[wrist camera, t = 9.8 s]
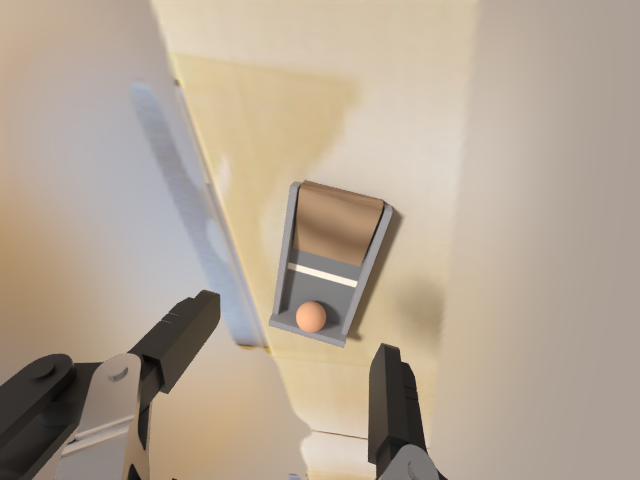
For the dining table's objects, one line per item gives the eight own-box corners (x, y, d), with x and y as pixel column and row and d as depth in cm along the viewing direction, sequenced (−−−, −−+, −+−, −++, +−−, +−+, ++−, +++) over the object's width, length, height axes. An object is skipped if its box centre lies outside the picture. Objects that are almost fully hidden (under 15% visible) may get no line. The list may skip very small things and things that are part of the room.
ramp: (306, 178, 27) (300, 185, 24) (382, 197, 26) (383, 206, 24) (295, 243, 31) (288, 255, 29) (360, 261, 31) (359, 275, 28)
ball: (294, 311, 30) (290, 334, 32) (326, 320, 30) (319, 343, 31) (302, 291, 33) (298, 313, 35) (330, 299, 33) (324, 320, 35)
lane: (294, 181, 27) (286, 188, 24) (391, 205, 26) (393, 216, 23) (276, 310, 36) (268, 325, 34) (345, 330, 36) (343, 348, 33)
